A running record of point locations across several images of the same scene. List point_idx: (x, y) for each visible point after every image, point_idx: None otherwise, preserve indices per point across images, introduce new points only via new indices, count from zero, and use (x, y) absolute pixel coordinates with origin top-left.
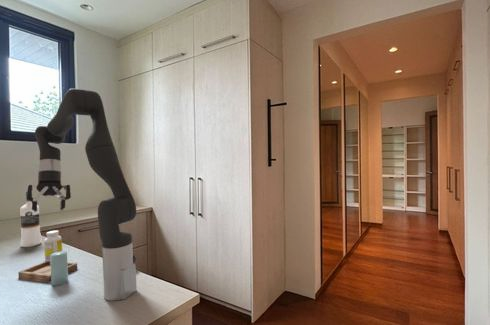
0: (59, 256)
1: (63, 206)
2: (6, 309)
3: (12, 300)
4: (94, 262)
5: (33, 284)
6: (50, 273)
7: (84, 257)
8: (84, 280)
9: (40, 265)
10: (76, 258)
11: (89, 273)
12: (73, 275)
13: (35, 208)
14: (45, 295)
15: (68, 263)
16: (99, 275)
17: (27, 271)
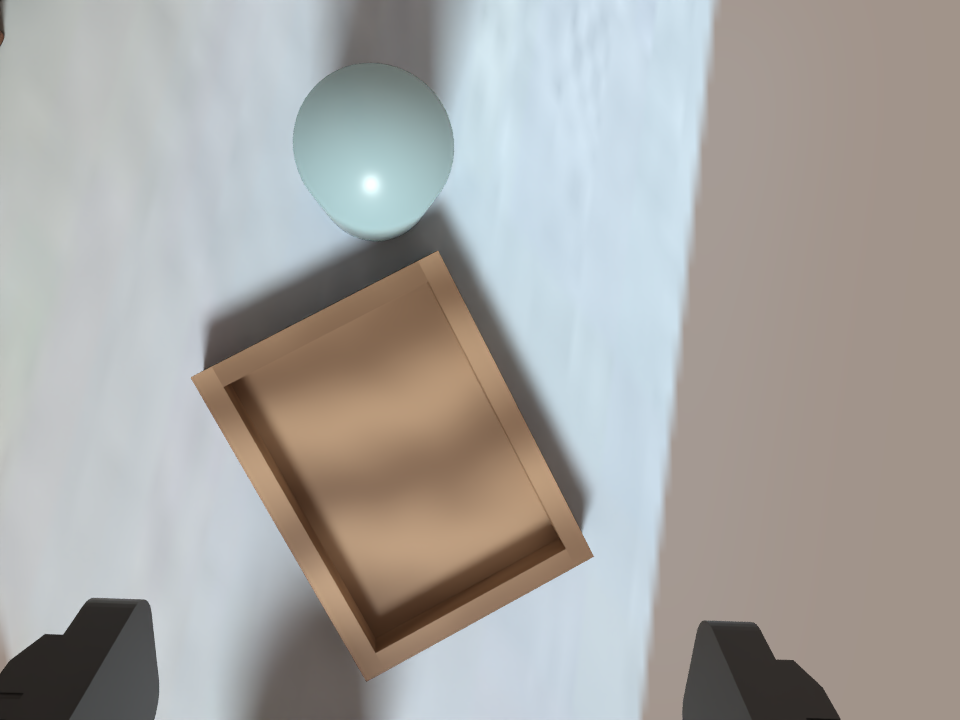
0: (382, 66)
1: (50, 669)
2: (703, 13)
3: (661, 132)
4: (40, 412)
5: (523, 313)
6: (401, 392)
7: None
8: (223, 48)
9: (436, 614)
10: None
11: (151, 169)
12: (263, 241)
13: (757, 654)
14: (497, 19)
15: (252, 438)
16: (97, 44)
17: (531, 558)
